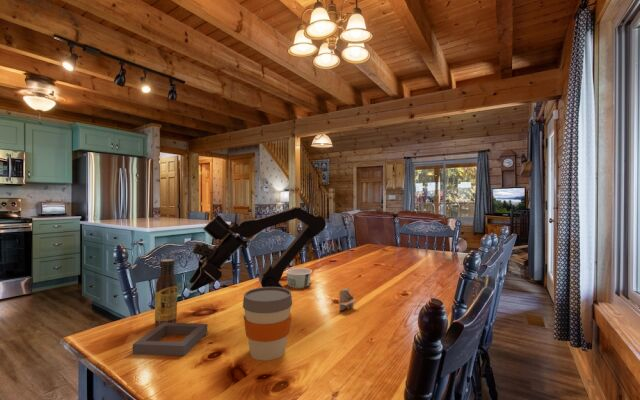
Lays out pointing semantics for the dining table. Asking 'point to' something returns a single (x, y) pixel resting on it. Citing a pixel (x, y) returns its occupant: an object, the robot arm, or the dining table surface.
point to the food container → (298, 277)
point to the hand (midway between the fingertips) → (190, 286)
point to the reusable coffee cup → (267, 321)
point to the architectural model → (345, 299)
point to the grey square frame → (155, 347)
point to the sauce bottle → (166, 294)
